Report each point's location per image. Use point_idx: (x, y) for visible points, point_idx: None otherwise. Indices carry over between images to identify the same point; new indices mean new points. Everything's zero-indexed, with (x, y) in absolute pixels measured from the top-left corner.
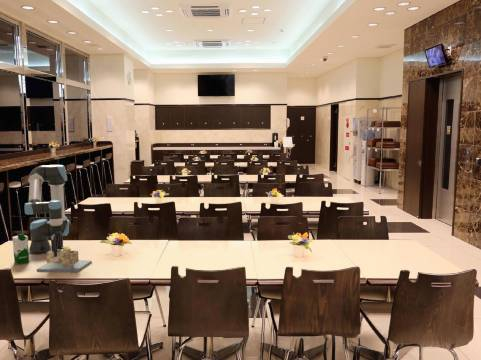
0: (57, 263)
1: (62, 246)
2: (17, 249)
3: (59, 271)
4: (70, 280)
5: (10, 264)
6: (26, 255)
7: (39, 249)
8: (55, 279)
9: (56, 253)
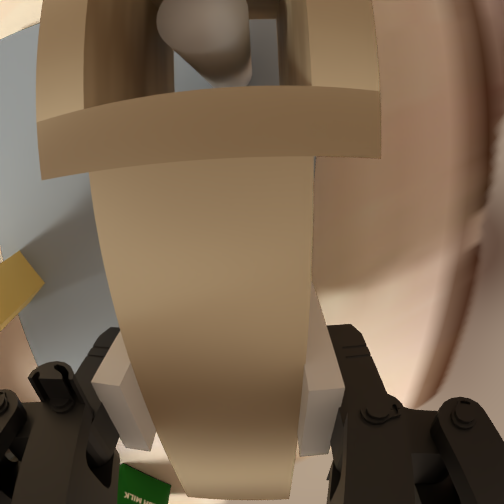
0: (106, 320)
1: (6, 410)
2: None
3: None
4: (498, 29)
5: (179, 499)
6: (127, 501)
7: (10, 453)
8: (492, 154)
9: (356, 374)
